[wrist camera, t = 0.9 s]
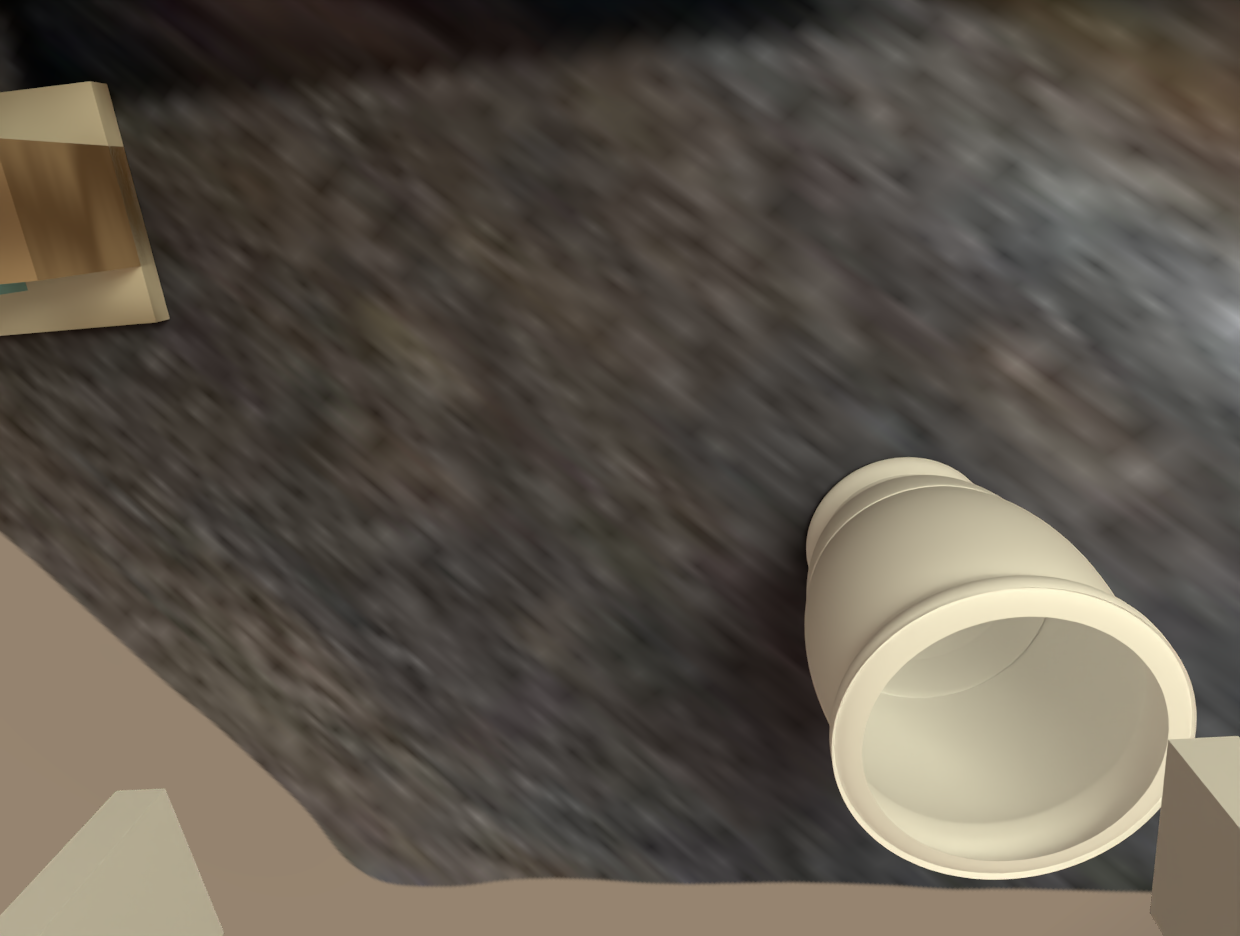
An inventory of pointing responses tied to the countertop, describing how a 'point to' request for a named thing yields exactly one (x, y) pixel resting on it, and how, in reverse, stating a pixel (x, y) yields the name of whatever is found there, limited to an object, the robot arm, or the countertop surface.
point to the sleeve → (13, 288)
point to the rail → (70, 216)
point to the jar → (981, 678)
